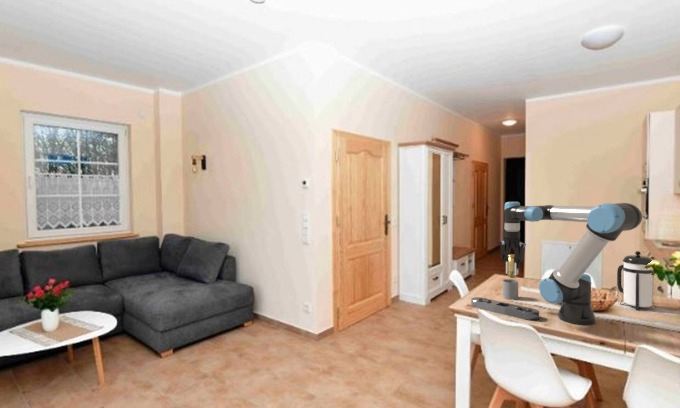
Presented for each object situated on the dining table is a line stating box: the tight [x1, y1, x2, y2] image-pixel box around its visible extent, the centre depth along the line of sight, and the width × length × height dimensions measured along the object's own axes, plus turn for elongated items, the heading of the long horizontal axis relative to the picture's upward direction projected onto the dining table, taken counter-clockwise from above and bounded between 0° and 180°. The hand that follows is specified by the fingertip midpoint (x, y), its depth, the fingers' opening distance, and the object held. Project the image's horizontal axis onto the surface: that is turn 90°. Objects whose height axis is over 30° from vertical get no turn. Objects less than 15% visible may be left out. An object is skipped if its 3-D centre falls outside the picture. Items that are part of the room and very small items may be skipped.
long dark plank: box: [470, 296, 540, 322], centre depth 191 cm, size 35×9×4 cm, turn 41°
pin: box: [507, 253, 517, 279], centre depth 195 cm, size 5×5×12 cm
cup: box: [502, 278, 519, 301], centre depth 215 cm, size 8×8×10 cm
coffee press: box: [616, 250, 657, 311], centre depth 195 cm, size 17×16×30 cm
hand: (512, 273), depth 195 cm, fingers closed on pin, 4 cm apart
